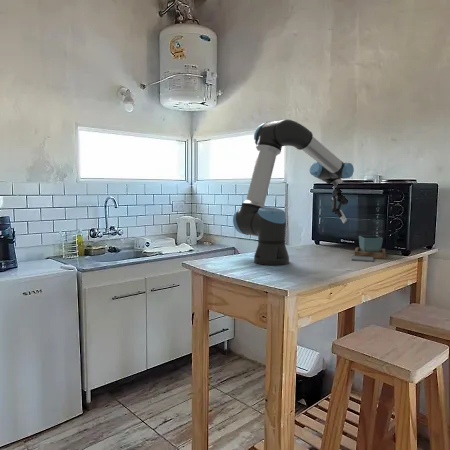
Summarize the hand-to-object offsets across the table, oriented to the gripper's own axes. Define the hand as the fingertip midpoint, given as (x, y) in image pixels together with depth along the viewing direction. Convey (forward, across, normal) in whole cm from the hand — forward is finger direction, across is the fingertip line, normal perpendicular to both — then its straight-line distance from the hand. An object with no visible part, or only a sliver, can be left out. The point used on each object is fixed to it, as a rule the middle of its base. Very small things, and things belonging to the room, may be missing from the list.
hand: (356, 221), depth 201 cm
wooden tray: (+18, 0, -3) cm, 19 cm away
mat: (+23, +10, +2) cm, 25 cm away
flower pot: (+19, 0, -3) cm, 19 cm away
